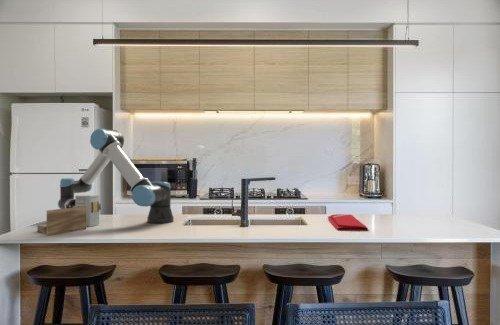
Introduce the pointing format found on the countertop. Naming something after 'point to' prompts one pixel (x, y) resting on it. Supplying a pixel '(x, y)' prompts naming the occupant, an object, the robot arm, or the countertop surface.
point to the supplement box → (89, 208)
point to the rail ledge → (64, 220)
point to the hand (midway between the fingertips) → (90, 208)
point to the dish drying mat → (346, 223)
